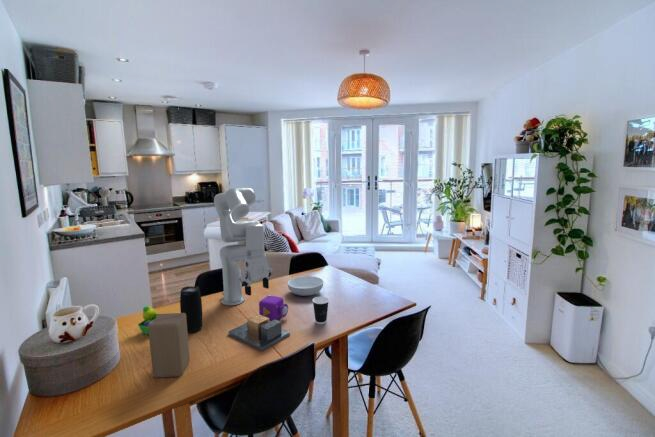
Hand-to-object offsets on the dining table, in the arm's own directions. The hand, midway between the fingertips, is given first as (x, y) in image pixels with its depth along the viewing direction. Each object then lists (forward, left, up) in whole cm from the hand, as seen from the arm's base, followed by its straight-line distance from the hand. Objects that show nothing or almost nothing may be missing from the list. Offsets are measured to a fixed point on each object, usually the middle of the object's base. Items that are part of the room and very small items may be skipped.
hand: (257, 291), depth 142 cm
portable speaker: (-28, -15, -20) cm, 38 cm away
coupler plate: (0, 0, -20) cm, 20 cm away
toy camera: (-7, +16, -20) cm, 27 cm away
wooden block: (-6, -36, -20) cm, 42 cm away
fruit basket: (-42, -26, -20) cm, 53 cm away
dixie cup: (+14, +26, -20) cm, 36 cm away
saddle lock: (0, 0, -19) cm, 19 cm away
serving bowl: (-16, +49, -20) cm, 55 cm away
